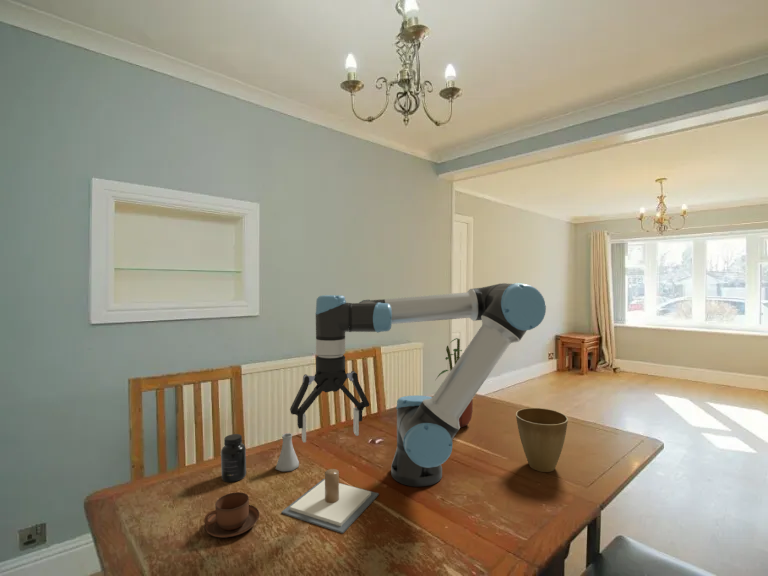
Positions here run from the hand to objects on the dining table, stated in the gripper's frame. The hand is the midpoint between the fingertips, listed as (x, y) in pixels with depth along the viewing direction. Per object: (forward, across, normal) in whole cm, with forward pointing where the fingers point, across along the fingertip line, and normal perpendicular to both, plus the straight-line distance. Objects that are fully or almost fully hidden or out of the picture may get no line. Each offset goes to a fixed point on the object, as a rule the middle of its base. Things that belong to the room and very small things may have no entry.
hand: (330, 437), depth 101 cm
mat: (+17, 0, 0) cm, 17 cm away
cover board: (+17, 0, 0) cm, 17 cm away
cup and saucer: (+18, +24, +1) cm, 30 cm away
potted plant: (+17, -58, -41) cm, 73 cm away
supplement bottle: (+18, +24, -23) cm, 38 cm away
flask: (+18, +9, -25) cm, 32 cm away
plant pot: (+17, -65, +2) cm, 68 cm away
